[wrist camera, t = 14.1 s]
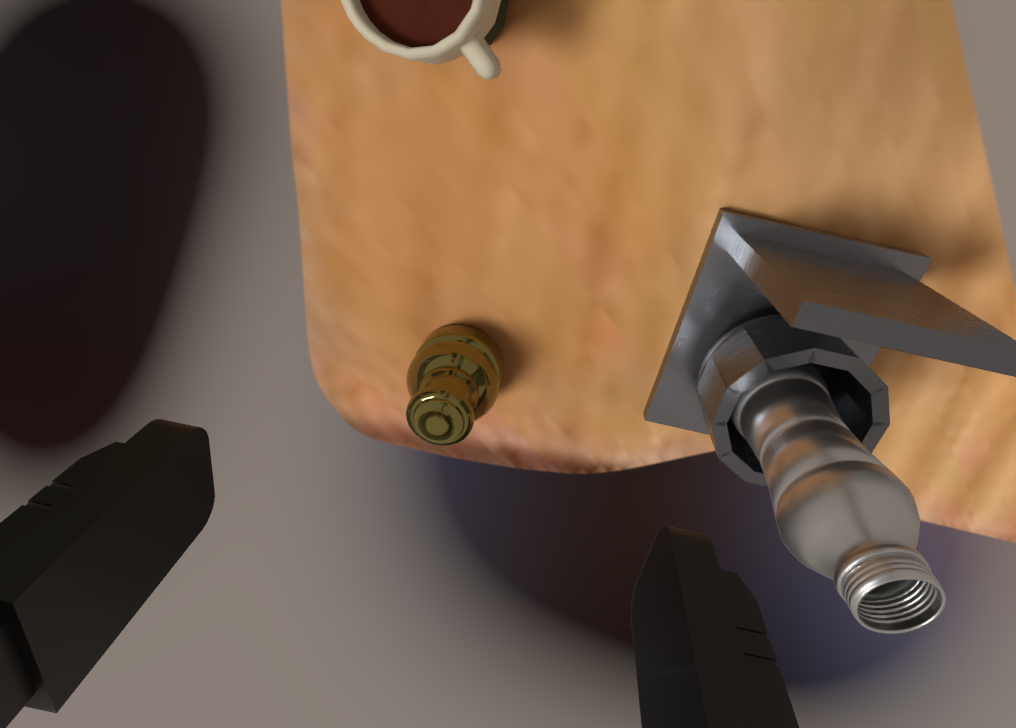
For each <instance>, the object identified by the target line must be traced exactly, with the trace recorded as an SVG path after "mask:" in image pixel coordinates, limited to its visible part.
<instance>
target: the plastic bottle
mask: <svg viewBox="0 0 1016 728" xmlns="http://www.w3.org/2000/svg"><path fill="white" fill-rule="evenodd" d="M729 419H730V420H731V422H732V423H733V425H734V426H735V427H736V429H737V430H738V432H739V433H740V434H741V435H742V436H743V437H744V438H745V439H746V440H747V442H748V444H749V445H750V447H751V449H752V450H753V452H754V454H755V455H756V457H757V458H758V460H759V462H760V465H761V467H762V470H763V473H764V476H765V478H766V481H767V484H768V486H769V491H770V495H771V500H772V504H773V509H774V513H775V518H776V523H777V526H778V529H779V532H780V535H781V538H782V540H783V543H784V544H785V546H786V547H787V548H788V549H789V550H790V552H791V553H792V554H793V555H794V556H795V557H796V558H797V559H798V560H799V561H800V562H801V563H803V564H804V565H805V566H806V567H809V568H810V569H812V570H814V571H816V572H818V573H820V574H822V575H824V576H826V577H828V578H831V579H833V580H834V583H835V586H836V589H837V590H838V592H839V594H840V596H841V597H842V598H843V600H844V601H846V602H847V604H848V606H849V608H850V609H851V612H852V614H853V615H854V617H855V618H856V620H858V622H859V623H860V624H861V625H862V626H863V627H865V628H867V629H869V630H871V631H875V632H879V633H886V634H890V633H891V634H892V633H893V634H895V633H904V632H909V631H913V630H916V629H919V628H921V627H923V626H925V625H927V624H929V623H930V622H932V621H933V620H935V619H936V618H937V617H938V616H939V615H940V614H941V613H942V611H943V610H944V607H945V605H946V594H945V592H944V590H943V588H942V586H941V585H940V583H939V582H938V581H937V579H936V578H935V577H934V575H933V574H932V572H931V569H930V566H929V565H928V563H927V562H926V560H925V559H924V558H923V556H922V555H921V554H920V553H919V552H918V551H916V550H915V549H916V546H917V543H918V536H919V527H920V518H919V514H918V510H917V506H916V503H915V499H914V496H913V495H912V493H911V492H910V490H909V489H908V488H907V487H906V486H905V484H904V483H903V482H902V481H901V480H900V479H899V478H898V477H897V476H896V475H895V474H894V473H893V472H891V471H890V470H889V469H888V468H887V467H886V466H885V465H883V464H882V463H881V462H880V461H879V460H878V459H877V458H876V457H875V456H874V455H872V454H871V453H870V452H869V451H868V450H867V449H866V448H865V447H864V446H863V445H862V443H861V442H860V441H859V440H858V439H857V438H856V436H855V435H854V434H853V433H852V432H851V431H850V429H849V428H848V427H847V426H846V425H845V424H844V422H843V421H842V419H841V417H840V415H839V413H838V412H837V410H836V408H835V406H834V404H833V403H832V401H831V397H830V394H829V391H828V388H827V386H826V383H825V381H824V379H823V377H822V375H821V374H820V372H819V371H818V370H817V369H816V368H815V367H814V366H813V365H811V364H810V363H807V364H803V365H799V366H794V367H790V368H785V369H781V370H777V371H772V372H770V373H769V374H767V375H766V376H765V377H763V378H762V379H761V380H759V381H758V382H757V383H755V384H754V385H753V386H751V387H750V388H749V389H747V390H746V391H745V392H743V393H742V394H741V395H740V397H739V399H738V401H737V403H736V405H735V407H734V409H733V412H732V414H731V416H730V418H729Z"/></svg>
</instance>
